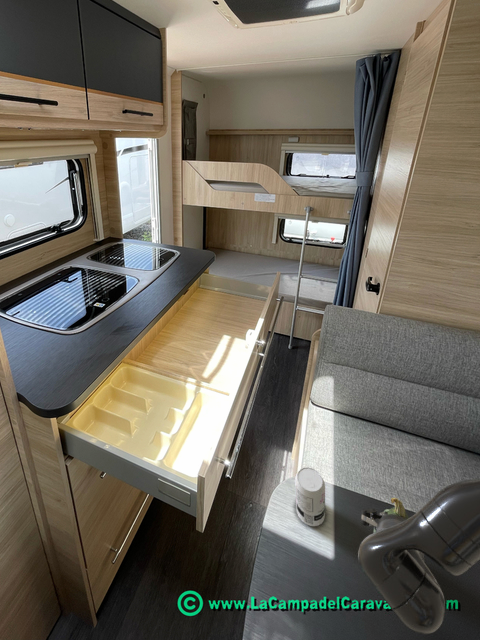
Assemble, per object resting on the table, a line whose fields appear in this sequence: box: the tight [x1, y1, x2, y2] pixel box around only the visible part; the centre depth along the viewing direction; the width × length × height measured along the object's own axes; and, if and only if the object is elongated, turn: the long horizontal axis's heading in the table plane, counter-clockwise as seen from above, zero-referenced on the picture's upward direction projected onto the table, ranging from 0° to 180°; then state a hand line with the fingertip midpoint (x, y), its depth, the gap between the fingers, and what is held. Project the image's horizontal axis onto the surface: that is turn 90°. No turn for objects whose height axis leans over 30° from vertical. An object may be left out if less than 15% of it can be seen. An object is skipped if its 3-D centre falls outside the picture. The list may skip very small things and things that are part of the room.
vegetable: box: [388, 497, 410, 520], centre depth 71 cm, size 4×4×20 cm
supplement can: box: [294, 466, 326, 527], centre depth 96 cm, size 8×8×15 cm
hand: (398, 522), depth 72 cm, fingers closed on vegetable, 4 cm apart
